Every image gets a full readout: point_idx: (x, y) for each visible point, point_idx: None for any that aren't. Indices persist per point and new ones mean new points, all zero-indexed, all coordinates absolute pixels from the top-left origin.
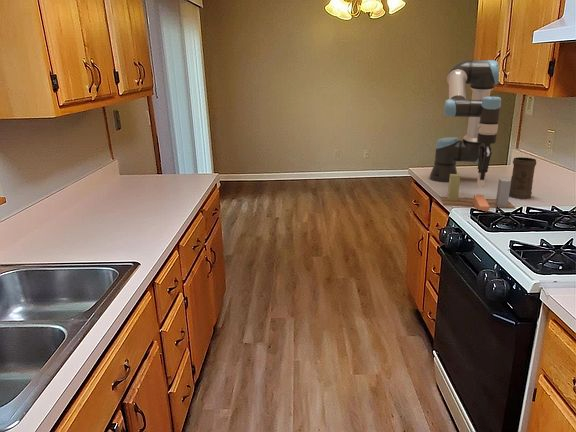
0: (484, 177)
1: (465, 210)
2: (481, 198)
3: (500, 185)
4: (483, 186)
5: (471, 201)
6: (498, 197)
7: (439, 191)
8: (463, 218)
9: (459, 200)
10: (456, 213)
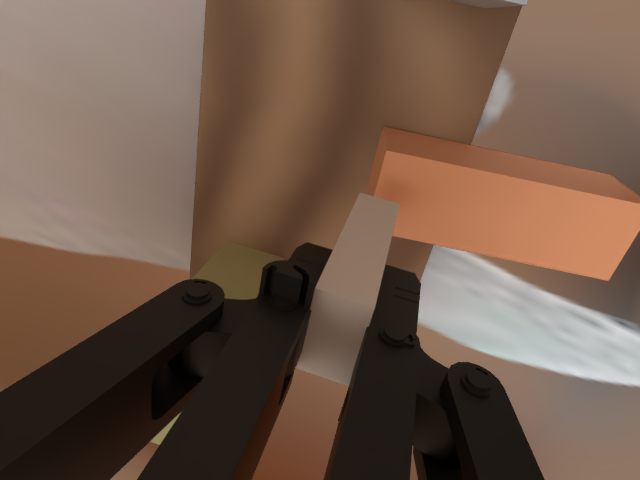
0: (383, 270)
1: (453, 274)
2: (460, 202)
3: (493, 1)
4: (397, 210)
5: (294, 165)
6: (469, 2)
7: (22, 225)
8: (626, 369)
9: (269, 238)
10: (507, 355)
